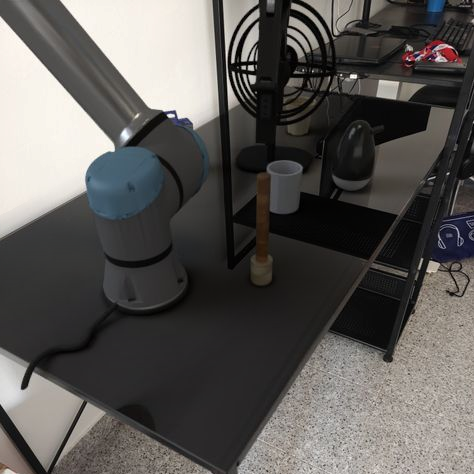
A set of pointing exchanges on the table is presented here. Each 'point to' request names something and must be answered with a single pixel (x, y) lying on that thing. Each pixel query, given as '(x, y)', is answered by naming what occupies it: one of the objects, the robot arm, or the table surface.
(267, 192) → the brush
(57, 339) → the table surface
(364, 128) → the pump dispenser
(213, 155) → the table surface
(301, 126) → the flower pot
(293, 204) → the white plastic cup
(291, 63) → the desk fan
